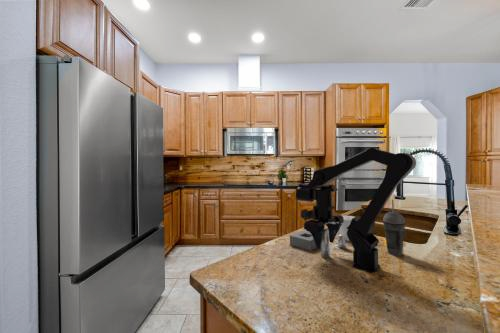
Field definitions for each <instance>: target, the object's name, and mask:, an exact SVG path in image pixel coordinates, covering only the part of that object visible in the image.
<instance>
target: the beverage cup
mask: <svg viewBox="0 0 500 333" xmlns="http://www.w3.org/2000/svg"><path fill="white" fill-rule="evenodd" d="M391 210H392V211H388V212H386V213H385V214H384V215H383V219H382V223H383V224H382V225H383V228H384V235H385V243H386V249H387V253H388V254H389V255H391V256H396V257H397V256H398V257H399V256H403V247H404V236H405V235H404V232H405V228H406V220H405V218H404V216H403V215H402V214H401V212H397V211H395V204H394V199H393V198H392V199H391Z"/></svg>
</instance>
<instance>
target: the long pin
mask: <svg viewBox="0 0 500 333" xmlns="http://www.w3.org/2000/svg"><path fill="white" fill-rule="evenodd" d="M324 231H325V233H324V237H323V241H322V245H321V248H320V257H321V258H324V259H329V258H330V256H331V254H330V253H331V252H330V247H331V246H330V240H329V229H328V227H327V228H326V227H325V228H324Z"/></svg>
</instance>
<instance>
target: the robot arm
mask: <svg viewBox="0 0 500 333" xmlns="http://www.w3.org/2000/svg"><path fill="white" fill-rule="evenodd" d="M416 160H417V159H416V158H415V156H413V155H412V154H410V153H405V152H397V153H395V152H394V153H392V152H389V151H386V150H381V149H379V148H377V147H368V148H366V150H364V151H362V152H359V153H357V154H355V155H353V156H350V157H349V158H348V159H347V158H346V159H345V160H343V161H341V162H339V163H337V164H334V165H330V166H326V167H322V168H319V169H316V170H315V171H314V172H313V174H312V178H311V179H310V181H309V183H307V184H305V183H299V184H298V186H297V189H296V192H295V197H296V200H297V201H299V202H308V203H313V202H314V201H315V205H313V207H312V210H311V209H310V210H308V208H304V209H301V210H300V218H302V219H304V221H305V222H303V229H304V231H307V232H310V233H311V234H312V236H313V239H314V241H315V244H316V247H317V248H316V249H318V250H321V245H322V241H323V237H324V233H325V231H324V228H326V227H327V229H329V243H334V241H335V239H336V237H337V233H338V231H339V229H340V227H341V225H342V224H341V223H344V218H343V217H342V216H343V215H341V214H336V213H333V210H334V209H335V208H336V206H335V205H333V192H334V193H335V192H337V191H338V190H339V189H338V188H337V187H335V185H334V184H332V183H333V182H334V181H336V180H337V179H339V178H340V177H341V176H342V175H344V174H346V173H348V172H351V171H354V170H356V169H358V168H360V167H362V166H364V165H367V164H369V163H371V162H373V161H374V162H376V163H379V164H381V165H385V166H386V169H385V173H384V178H383V179H382V181H381V183H380V184H379V186H378V188H377V190H376V192H375V193H374V195H373V196H372V198H371V199H370V201H369V203H368V205H367V206H366V208H365V209H364V211H363V213H362V215H356V216H354V218H352V220H351V223H350V225H349V226H348V227H347V229H348V231H347V236H348V239H349V240H350V241H349V242H350V243H351V245H352V247H353V251H352V259H353V264H352V267H353V268H356V269H360V270H363V271H366V272H370V273H375V272H376V271H378V269H379V268H381V264H380V263H379V248H377V247H378V245H379V242H380V240H379V239H378V237H376V236H375V235H374V234H373V231H374V228H375V223H376V220H377V218H378V217H379V215H380V214H381V212H382V211H383V209H384V207H386V204H387V203H388V201H389V200H390V198H391V196H392V195H393V193H394V192H395V190H396V189H397V187H398V185H400V183H401V182H402V181H403V180H404V179H405V178H406V177H408V175H409V174H411V172H412V171H413V170H414V169H415V168H416V166H417V161H416ZM324 185H329V186H324ZM338 222H339V223H338ZM325 226H326V227H325Z"/></svg>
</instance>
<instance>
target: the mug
mask: <svg viewBox="0 0 500 333" xmlns="http://www.w3.org/2000/svg"><path fill="white" fill-rule="evenodd" d="M342 217H343V218H344V223H341V224H342V225H341V227H340V229H339V231H338V233H337V235H338V234H344V235H345V239H346V242H351V241H350V240H349V239H348V236H347V231H348V229H347V227H348V226H349V225H350V223H351V220H352V218H354V217H355V216H354V215H342ZM338 223H339V222H338ZM337 235H336V237H337V238H338V236H337Z"/></svg>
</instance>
